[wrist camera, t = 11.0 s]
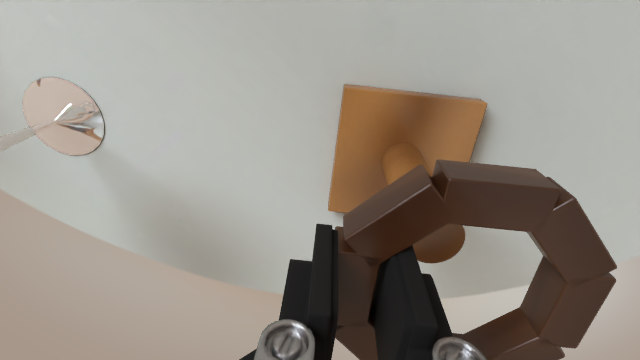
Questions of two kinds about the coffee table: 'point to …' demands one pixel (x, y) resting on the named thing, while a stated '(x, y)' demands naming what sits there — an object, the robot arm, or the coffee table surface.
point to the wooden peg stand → (401, 149)
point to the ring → (490, 212)
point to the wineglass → (59, 118)
